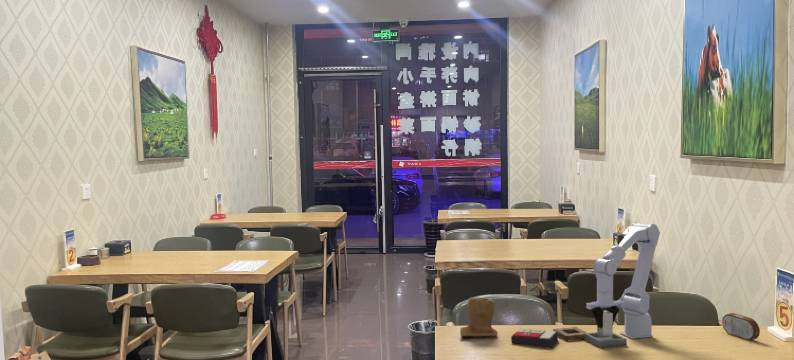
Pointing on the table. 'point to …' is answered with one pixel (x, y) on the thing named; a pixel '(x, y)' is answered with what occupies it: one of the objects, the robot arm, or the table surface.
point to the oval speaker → (741, 326)
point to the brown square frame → (570, 333)
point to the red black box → (535, 338)
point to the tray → (605, 340)
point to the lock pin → (606, 325)
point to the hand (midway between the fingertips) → (605, 326)
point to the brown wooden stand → (479, 318)
